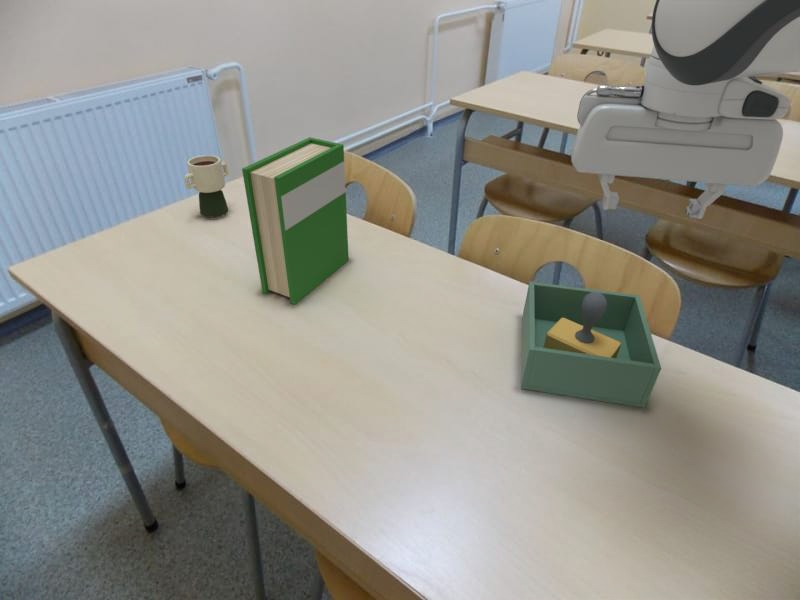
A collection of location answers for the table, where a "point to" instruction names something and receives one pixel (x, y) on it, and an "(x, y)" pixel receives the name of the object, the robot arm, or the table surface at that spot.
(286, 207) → the hardback book
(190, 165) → the character mug
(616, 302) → the open box
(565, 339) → the rubber stamp
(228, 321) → the table surface
